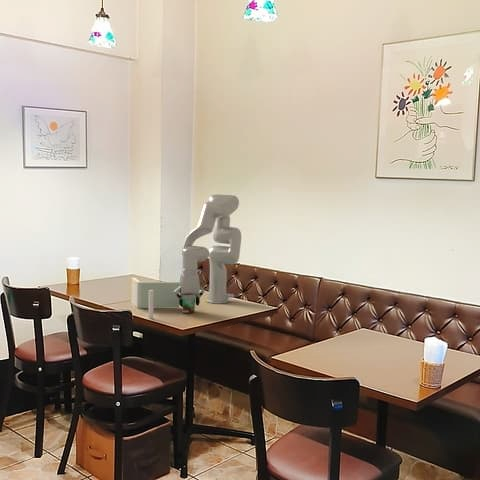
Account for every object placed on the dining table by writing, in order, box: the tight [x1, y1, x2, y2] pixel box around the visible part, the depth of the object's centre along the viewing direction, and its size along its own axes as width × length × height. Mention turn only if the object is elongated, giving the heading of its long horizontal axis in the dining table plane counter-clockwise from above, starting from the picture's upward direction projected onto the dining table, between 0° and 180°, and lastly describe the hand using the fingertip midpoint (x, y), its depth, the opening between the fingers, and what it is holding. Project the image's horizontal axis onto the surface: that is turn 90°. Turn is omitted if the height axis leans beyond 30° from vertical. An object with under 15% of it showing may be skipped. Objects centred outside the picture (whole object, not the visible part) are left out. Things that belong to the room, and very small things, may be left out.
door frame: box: [131, 277, 154, 320], centre depth 305 cm, size 2×36×14 cm, turn 24°
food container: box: [182, 294, 197, 315], centre depth 305 cm, size 12×6×10 cm, turn 172°
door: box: [140, 281, 180, 309], centre depth 312 cm, size 3×20×14 cm, turn 99°
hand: (189, 305), depth 305 cm, fingers closed on food container, 8 cm apart
